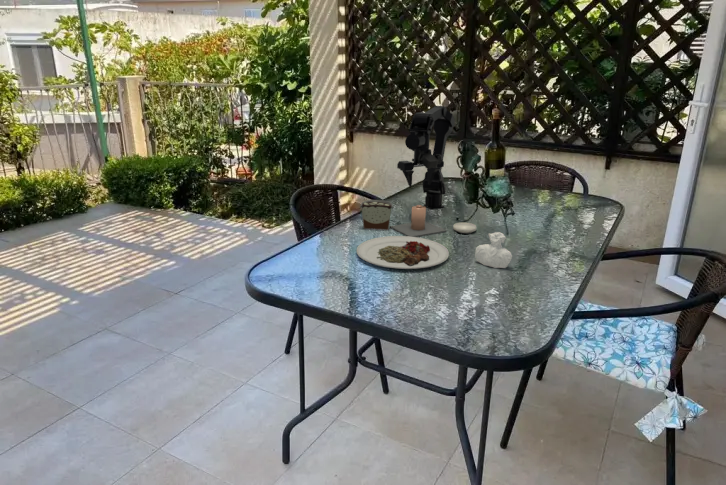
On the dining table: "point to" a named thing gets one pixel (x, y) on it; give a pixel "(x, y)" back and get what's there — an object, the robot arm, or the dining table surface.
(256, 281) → the dining table surface
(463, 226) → the cream ceramic bowl
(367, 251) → the plated food
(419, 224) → the peach pillar candle
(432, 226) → the rubber mat
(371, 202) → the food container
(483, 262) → the white tied sack
